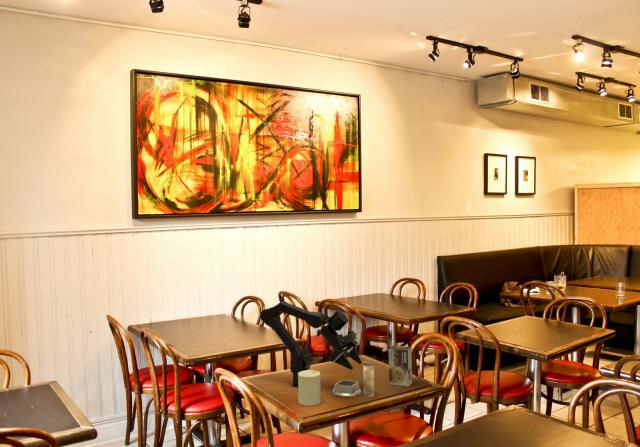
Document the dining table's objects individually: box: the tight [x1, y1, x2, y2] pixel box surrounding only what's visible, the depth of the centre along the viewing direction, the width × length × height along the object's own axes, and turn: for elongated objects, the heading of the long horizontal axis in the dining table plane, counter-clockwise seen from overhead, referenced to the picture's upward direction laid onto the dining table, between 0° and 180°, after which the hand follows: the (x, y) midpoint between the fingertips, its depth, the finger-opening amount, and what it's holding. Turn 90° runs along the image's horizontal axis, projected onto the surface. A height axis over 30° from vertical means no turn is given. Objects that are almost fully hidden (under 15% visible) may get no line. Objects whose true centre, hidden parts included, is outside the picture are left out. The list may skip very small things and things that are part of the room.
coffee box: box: [388, 345, 413, 388], centre depth 242 cm, size 9×6×16 cm
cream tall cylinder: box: [362, 360, 375, 398], centre depth 227 cm, size 4×4×14 cm
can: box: [297, 369, 322, 407], centre depth 220 cm, size 9×9×12 cm
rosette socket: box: [332, 378, 362, 398], centre depth 232 cm, size 12×12×4 cm
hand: (356, 366), depth 229 cm, fingers open, 9 cm apart
